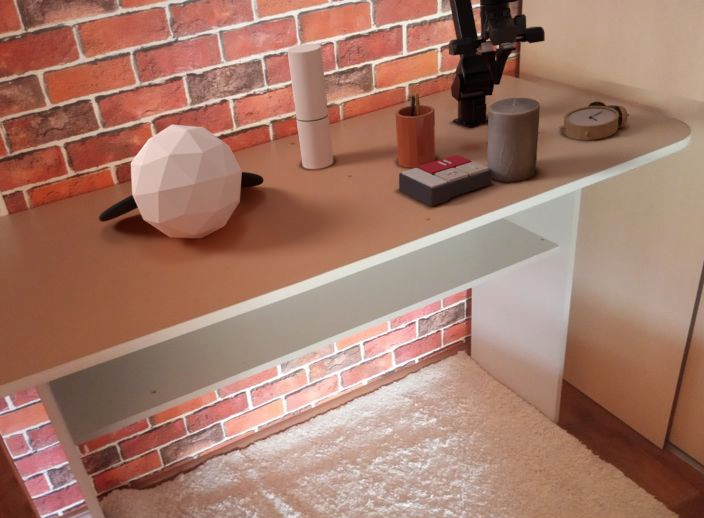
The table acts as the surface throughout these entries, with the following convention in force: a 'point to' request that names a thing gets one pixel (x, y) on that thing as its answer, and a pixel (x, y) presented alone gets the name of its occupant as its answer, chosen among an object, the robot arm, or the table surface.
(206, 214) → the faceted geodesic sphere
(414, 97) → the pencils
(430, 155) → the pen pot
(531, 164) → the pillar candle
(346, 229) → the table surface
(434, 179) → the calculator
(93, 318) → the table surface
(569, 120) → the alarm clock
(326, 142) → the cylindrical container
